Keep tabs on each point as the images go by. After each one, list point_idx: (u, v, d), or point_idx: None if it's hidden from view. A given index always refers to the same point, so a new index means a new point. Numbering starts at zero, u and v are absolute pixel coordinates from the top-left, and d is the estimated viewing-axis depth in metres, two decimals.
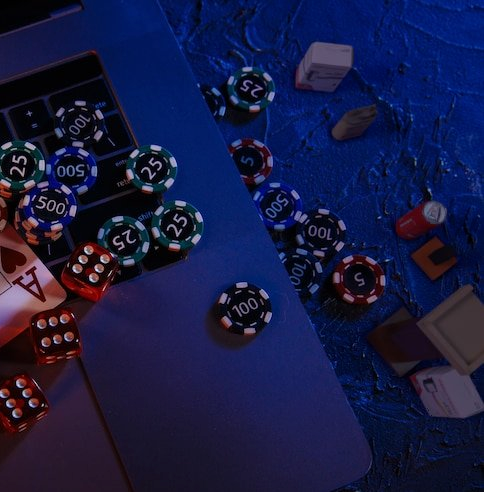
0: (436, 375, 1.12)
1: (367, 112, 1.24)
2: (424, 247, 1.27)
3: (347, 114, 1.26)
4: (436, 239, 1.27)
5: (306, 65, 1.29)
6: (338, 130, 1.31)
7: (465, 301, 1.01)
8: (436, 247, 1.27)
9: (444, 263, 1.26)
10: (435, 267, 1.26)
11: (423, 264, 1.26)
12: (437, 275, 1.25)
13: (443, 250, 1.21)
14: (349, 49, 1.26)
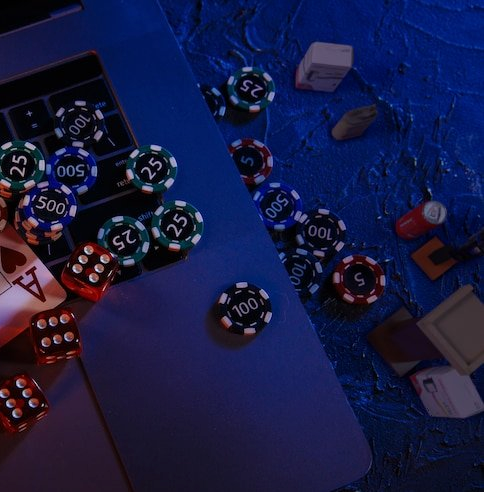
0: (436, 375, 1.12)
1: (367, 112, 1.24)
2: (424, 247, 1.27)
3: (347, 114, 1.26)
4: (436, 239, 1.27)
5: (306, 65, 1.29)
6: (338, 130, 1.31)
7: (465, 301, 1.01)
8: (436, 247, 1.27)
9: (444, 263, 1.26)
10: (435, 267, 1.26)
11: (423, 264, 1.26)
12: (437, 275, 1.25)
13: (443, 250, 1.21)
14: (349, 49, 1.26)
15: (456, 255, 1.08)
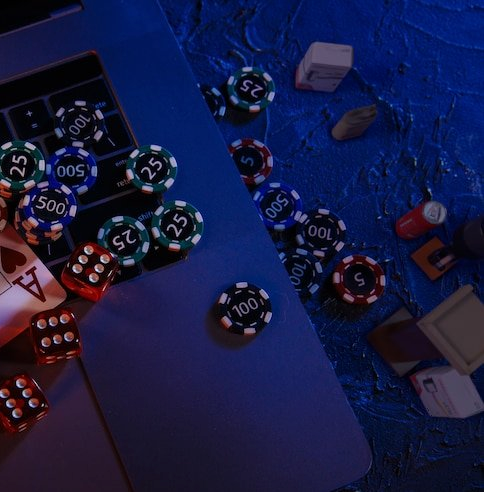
0: (436, 375, 1.12)
1: (367, 112, 1.24)
2: (424, 247, 1.27)
3: (347, 114, 1.26)
4: (436, 239, 1.27)
5: (306, 65, 1.29)
6: (338, 130, 1.31)
7: (465, 301, 1.01)
8: (436, 247, 1.27)
9: None
10: (435, 267, 1.26)
11: (423, 264, 1.26)
12: (437, 275, 1.25)
13: None
14: (349, 49, 1.26)
15: (432, 261, 1.20)
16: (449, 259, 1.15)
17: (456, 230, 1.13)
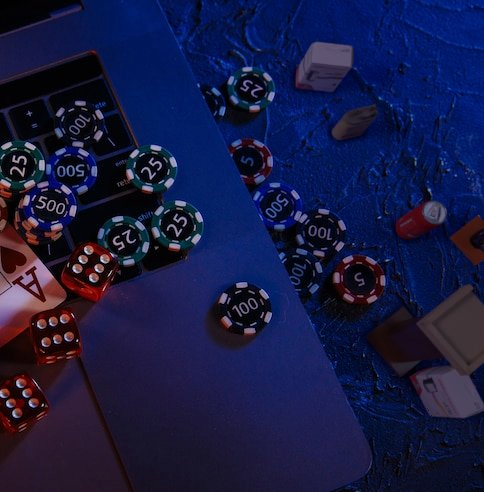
0: (436, 375, 1.12)
1: (367, 112, 1.24)
2: (465, 228, 1.12)
3: (347, 114, 1.26)
4: (479, 219, 1.12)
5: (306, 65, 1.29)
6: (338, 130, 1.31)
7: (465, 301, 1.01)
8: (479, 228, 1.12)
9: None
10: (478, 250, 1.11)
11: (464, 247, 1.11)
12: (481, 259, 1.10)
13: None
14: (349, 49, 1.26)
15: (477, 243, 1.05)
16: None
17: None
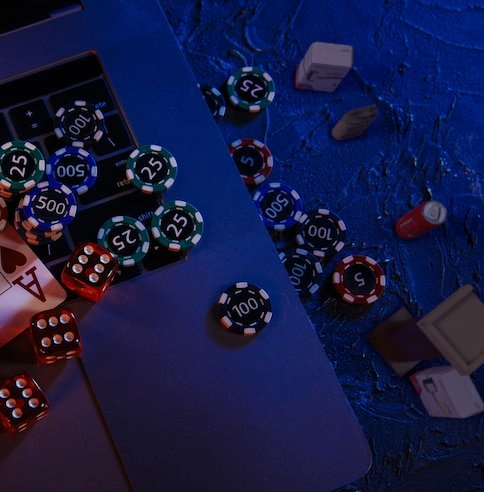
0: (436, 375, 1.12)
1: (367, 112, 1.24)
2: None
3: (347, 114, 1.26)
4: None
5: (306, 65, 1.29)
6: (338, 130, 1.31)
7: (465, 301, 1.01)
8: None
9: None
10: None
11: None
12: None
13: None
14: (349, 49, 1.26)
15: None
16: None
17: None
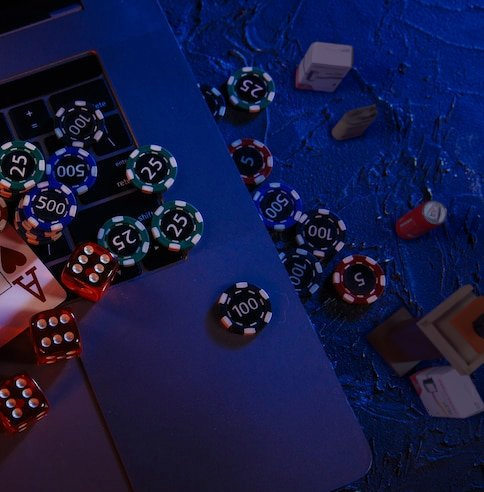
0: (436, 375, 1.12)
1: (367, 112, 1.24)
2: (467, 310, 0.97)
3: (347, 114, 1.26)
4: (483, 299, 0.97)
5: (306, 65, 1.29)
6: (338, 130, 1.31)
7: (465, 301, 1.01)
8: (483, 310, 0.97)
9: None
10: None
11: (466, 333, 0.96)
12: None
13: None
14: (349, 49, 1.26)
15: None
16: None
17: None
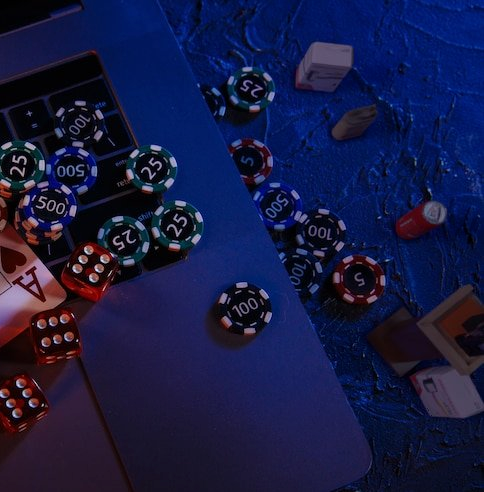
0: (436, 375, 1.12)
1: (367, 112, 1.24)
2: (457, 312, 1.00)
3: (347, 114, 1.26)
4: (472, 302, 1.00)
5: (306, 65, 1.29)
6: (338, 130, 1.31)
7: None
8: (472, 312, 1.00)
9: None
10: None
11: (456, 335, 0.99)
12: None
13: (483, 320, 0.94)
14: (349, 49, 1.26)
15: (462, 346, 0.91)
16: None
17: None
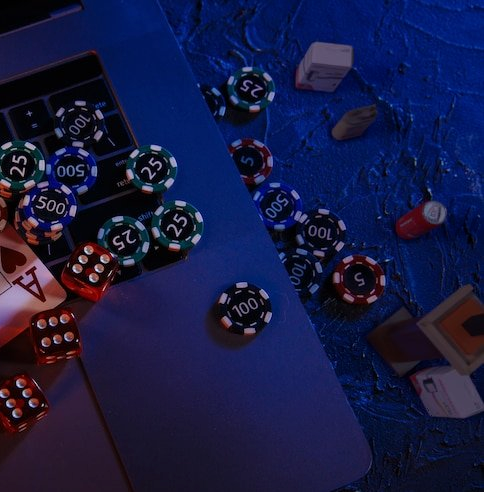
0: (436, 375, 1.12)
1: (367, 112, 1.24)
2: (457, 312, 1.00)
3: (347, 114, 1.26)
4: (472, 302, 1.00)
5: (306, 65, 1.29)
6: (338, 130, 1.31)
7: None
8: (472, 312, 1.00)
9: None
10: (471, 339, 0.99)
11: (456, 335, 0.99)
12: (474, 349, 0.98)
13: (483, 320, 0.94)
14: (349, 49, 1.26)
15: None
16: None
17: None
